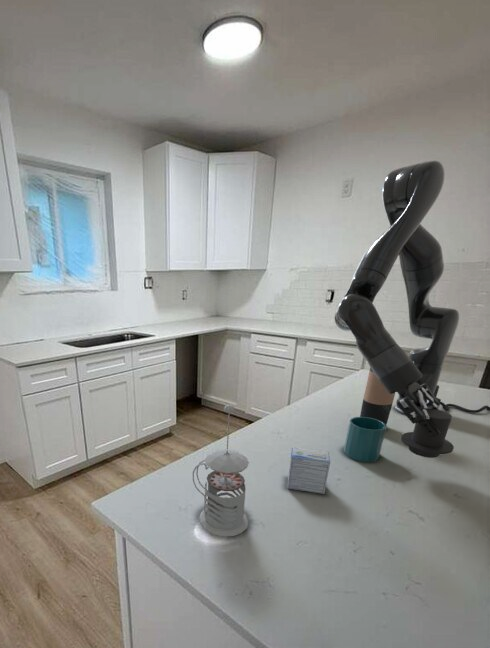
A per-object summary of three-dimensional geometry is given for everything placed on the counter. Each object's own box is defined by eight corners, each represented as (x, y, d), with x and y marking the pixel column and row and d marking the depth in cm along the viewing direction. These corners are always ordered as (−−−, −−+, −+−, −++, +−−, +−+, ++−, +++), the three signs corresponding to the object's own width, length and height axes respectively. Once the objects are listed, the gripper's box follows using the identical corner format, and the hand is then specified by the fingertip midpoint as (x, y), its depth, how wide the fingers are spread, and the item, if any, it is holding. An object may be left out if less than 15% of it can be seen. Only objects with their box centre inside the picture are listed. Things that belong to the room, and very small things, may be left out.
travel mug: (379, 421, 113) (394, 359, 105) (390, 432, 106) (407, 366, 98) (353, 421, 114) (366, 359, 106) (363, 432, 107) (378, 366, 99)
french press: (237, 543, 67) (246, 420, 57) (182, 522, 72) (182, 407, 62) (255, 513, 74) (266, 400, 64) (204, 496, 80) (207, 390, 70)
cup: (365, 445, 99) (372, 415, 96) (385, 460, 92) (393, 429, 88) (337, 447, 99) (343, 417, 95) (355, 463, 91) (362, 431, 87)
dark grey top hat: (427, 440, 89) (438, 403, 85) (461, 460, 80) (476, 421, 76) (389, 442, 88) (398, 406, 84) (419, 464, 79) (432, 424, 75)
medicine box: (323, 484, 83) (329, 451, 80) (324, 495, 79) (330, 461, 76) (287, 478, 86) (291, 446, 82) (286, 489, 82) (291, 455, 78)
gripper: (398, 366, 76) (449, 434, 73) (419, 354, 85) (466, 414, 82) (366, 384, 82) (412, 448, 79) (389, 371, 91) (432, 428, 87)
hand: (439, 430), depth 80 cm, fingers closed on dark grey top hat, 6 cm apart
